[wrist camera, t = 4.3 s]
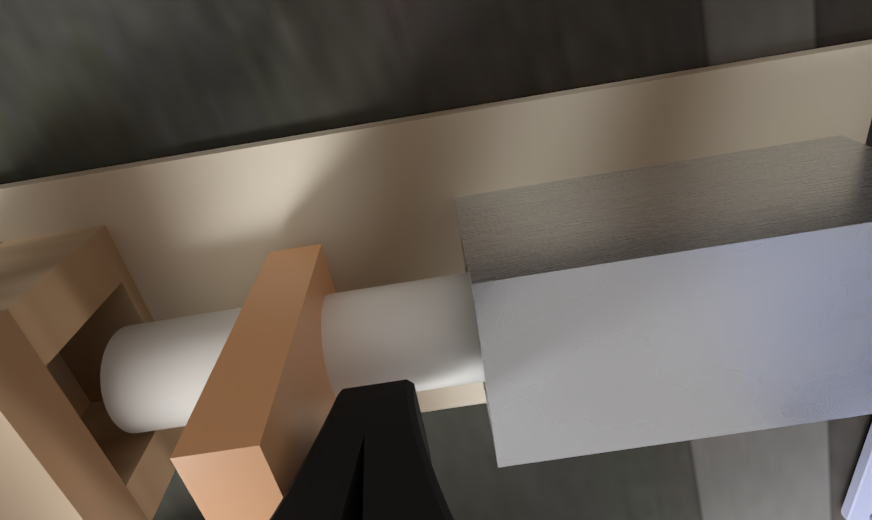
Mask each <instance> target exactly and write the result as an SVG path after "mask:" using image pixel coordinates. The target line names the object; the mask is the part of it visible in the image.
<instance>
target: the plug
mask: <svg viewBox="0 0 872 520" xmlns="http://www.w3.org/2000/svg"><path fill="white" fill-rule="evenodd" d="M405 379H407V380H409V381H411V382H412V383H414V385H415V389H416V392H417V391H424V390H431V389H438V388H444V387H451V386H458V385H464V384H471V383H478V382H485V377H484V370H483V363H482V356H481V349H480V342H479V335H478V328H477V321H476V314H475V307H474V300H473V295H472V290H471V285H470V280H469V275H468V272H466V273H460V274H454V275H447V276H441V277H434V278H428V279H422V280H415V281H409V282H402V283H396V284H390V285H383V286H377V287H370V288H364V289H358V290H351V291H345V292H338V293H336V292H335V288H334V285H333V281H332V278H331V275H330V271H329V268H328V264H327V261H326V258H325V254H324V251H323V247H322V244H317V245H311V246H305V247H298V248H292V249H286V250H280V251H273V252H269V253H268V255H267V257H266V260H265V262H264V264H263V266H262V268H261V270H260V272H259V274H258V276H257V278H256V280H255V282H254V284H253V287H252V289H251V291H250V293H249V295H248V297H247V299H246V301H245V303H244V305H243V307H242V308H236V309H229V310H223V311H217V312H210V313H204V314H197V315H191V316H184V317H178V318H172V319H165V320H159V321H152V322H146V323H140V324H133V325H128V326H124V327H122V328H121V329H119V330H118V331H117V332H116V333H115V334H114V335H113V336H112V337H111V339H110V340H109V342H108V344H107V346H106V348H105V351H104V354H103V358H102V363H101V370H100V385H101V393H102V398H103V402H104V405H105V407H106V410H107V412H108V414H109V416H110V418H111V419H112V420H113V422H114V423H115V424H116V425H117V426H118V427H119V428H120V429H122V430H123V431H125V432H128V433H142V432H149V431H155V430H162V429H169V428H176V427H182V426H185V428H184V430H183V432H182V434H181V436H180V438H179V440H178V443H177V445H176V447H175V449H174V451H173V453H172V455H171V457H170V460H171V461H172V463H173V465H174V467H175V468H176V470H177V472H178V473H179V475H180V477H181V479H182V480H183V482H184V484H185V485H186V487H187V489H188V491H189V492H190V494H191V496H192V497H193V499H194V501H195V502H196V504H197V506H198V508H199V509H200V511H201V513H202V514H203V516H204V518H205V520H270V518H271V517H272V515H273V513H274V512H275V510H276V509H277V507H278V505H279V504H280V502H281V500H282V499H283V497H284V495H285V493H286V492H287V490H288V488H289V486H290V485H291V483H292V481H293V479H294V478H295V476H296V474H297V472H298V470H299V469H300V467H301V465H302V463H303V462H304V460H305V458H306V456H307V454H308V453H309V451H310V449H311V447H312V445H313V443H314V441H315V439H316V437H317V436H318V434H319V432H320V430H321V428H322V426H323V424H324V422H325V420H326V418H327V416H328V414H329V412H330V410H331V408H332V406H333V404H334V401H335V399H336V397H337V395H338V394H339V393H340V391H341V390H342V389H345V388H352V387H359V386H365V385H372V384H379V383H385V382H392V381H399V380H405Z"/></svg>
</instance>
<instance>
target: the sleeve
mask: <svg viewBox="0 0 872 520" xmlns="http://www.w3.org/2000/svg"><path fill="white" fill-rule="evenodd" d="M455 204H456V211H457V218H458V224H459V231H460V238H461V245H462V252H463V258H464V265H465V272H468V275H469V280H470V285H471V290H472V295H473V300H474V307H475V314H476V321H477V328H478V335H479V342H480V349H481V356H482V363H483V370H484V377H485V382H483V387H484V393H485V398H486V404H487V409H488V415H489V420H490V426H491V432H492V437H493V443H494V448H495V454H496V459H497V465H498V467H505V466H512V465H519V464H526V463H533V462H540V461H547V460H554V459H561V458H568V457H575V456H582V455H589V454H596V453H603V452H610V451H617V450H624V449H631V448H638V447H645V446H652V445H659V444H666V443H673V442H680V441H687V440H694V439H701V438H708V437H715V436H722V435H729V434H736V433H743V432H750V431H757V430H764V429H771V428H778V427H785V426H792V425H799V424H806V423H813V422H820V421H827V420H834V419H841V418H848V417H854V416H861V415H868V414H872V147H870V146H868V145H865V144H863V143H860V142H858V141H855V140H853V139H850V138H848V137H845V136H842V135H839V136H833V137H827V138H821V139H814V140H808V141H802V142H796V143H789V144H783V145H777V146H771V147H765V148H758V149H752V150H746V151H740V152H734V153H727V154H721V155H715V156H709V157H703V158H696V159H690V160H684V161H678V162H671V163H665V164H659V165H653V166H647V167H640V168H634V169H628V170H622V171H616V172H609V173H603V174H597V175H591V176H584V177H578V178H572V179H566V180H560V181H553V182H547V183H541V184H535V185H529V186H522V187H516V188H510V189H504V190H498V191H491V192H485V193H479V194H473V195H466V196H460V197H455Z"/></svg>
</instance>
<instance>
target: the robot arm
mask: <svg viewBox="0 0 872 520" xmlns="http://www.w3.org/2000/svg"><path fill="white" fill-rule="evenodd" d="M841 514H842V515H843V517H844V518H845V519H846V520H872V423H871V426H870V429H869V432H868V435H867V438H866V440H865V443H864V446H863V449H862V452H861V455H860V458H859V461H858V463H857V466H856V469H855V472H854V475H853V478H852V481H851V483H850V486H849V489H848V492H847V495H846V498H845V501H844V504H843V506H842V509H841ZM270 520H454V519H453V517H452V515H451V513H450V510H449V508H448V506H447V504H446V501H445V499H444V496H443V494H442V491H441V489H440V486H439V484H438V481H437V478H436V476H435V473H434V470H433V467H432V465H431V456H430V451H429V446H428V442H427V438H426V433H425V429H424V424H423V420H422V416H421V411H420V407H419V402H418V398H417V394H416V389H415V385H414V383H412V382H411V381H409V380H407V379H405V380H399V381H392V382H385V383H379V384H372V385H365V386H359V387H352V388H345V389H342V390H341V391H340V393H339V394H338V395H337V397H336V399H335V401H334V404H333V406H332V408H331V410H330V412H329V414H328V416H327V418H326V420H325V422H324V424H323V426H322V428H321V430H320V432H319V434H318V436H317V437H316V439H315V441H314V443H313V445H312V447H311V449H310V451H309V453H308V454H307V456H306V458H305V460H304V462H303V463H302V465H301V467H300V469H299V470H298V472H297V474H296V476H295V478H294V479H293V481H292V483H291V485H290V486H289V488H288V490H287V492H286V493H285V495H284V497H283V499H282V500H281V502H280V504H279V505H278V507H277V509H276V510H275V512H274V513H273V515H272V517H271V518H270Z"/></svg>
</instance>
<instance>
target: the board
mask: <svg viewBox="0 0 872 520" xmlns="http://www.w3.org/2000/svg"><path fill="white" fill-rule="evenodd" d="M871 119H872V39H871V40H865V41H859V42H853V43H847V44H841V45H835V46H829V47H823V48H817V49H811V50H805V51H799V52H793V53H787V54H781V55H775V56H769V57H763V58H757V59H751V60H745V61H739V62H733V63H727V64H721V65H715V66H709V67H703V68H697V69H691V70H685V71H679V72H673V73H667V74H661V75H655V76H649V77H643V78H637V79H631V80H625V81H619V82H613V83H607V84H601V85H595V86H589V87H583V88H577V89H571V90H565V91H559V92H553V93H547V94H541V95H535V96H529V97H523V98H517V99H511V100H505V101H499V102H493V103H487V104H481V105H475V106H469V107H463V108H457V109H451V110H445V111H439V112H433V113H427V114H421V115H415V116H409V117H403V118H397V119H391V120H385V121H379V122H373V123H367V124H361V125H355V126H349V127H343V128H337V129H331V130H325V131H319V132H313V133H307V134H301V135H295V136H289V137H283V138H277V139H271V140H265V141H259V142H253V143H247V144H241V145H235V146H229V147H223V148H217V149H211V150H205V151H199V152H193V153H187V154H181V155H175V156H169V157H163V158H157V159H151V160H145V161H139V162H133V163H127V164H121V165H115V166H109V167H103V168H97V169H91V170H85V171H79V172H73V173H67V174H61V175H55V176H49V177H43V178H37V179H31V180H25V181H19V182H13V183H7V184H1V185H0V242H4V241H10V240H16V239H22V238H28V237H34V236H40V235H47V234H53V233H59V232H65V231H71V230H77V229H83V228H90V227H96V226H102V225H105V226H106V228H107V230H108V232H109V234H110V236H111V237H112V239H113V241H114V243H115V245H116V247H117V249H118V251H119V253H120V255H121V257H122V259H123V261H124V263H125V265H126V267H127V269H128V271H129V273H130V275H131V277H132V279H133V281H134V283H135V285H136V286H137V288H138V290H139V292H140V294H141V296H142V298H143V300H144V302H145V304H146V306H147V308H148V310H149V312H150V314H151V316H152V318H153V320H154V321H159V320H165V319H172V318H178V317H184V316H191V315H197V314H204V313H210V312H217V311H223V310H229V309H236V308H242V307H243V305H244V303H245V301H246V299H247V297H248V295H249V293H250V291H251V289H252V287H253V284H254V282H255V280H256V278H257V276H258V274H259V272H260V270H261V268H262V266H263V264H264V262H265V260H266V257H267V255H268V253H269V252H273V251H280V250H286V249H292V248H298V247H305V246H311V245H317V244H322V247H323V251H324V254H325V258H326V261H327V264H328V268H329V271H330V275H331V278H332V281H333V285H334V288H335V292H336V293H338V292H345V291H351V290H358V289H364V288H370V287H377V286H383V285H390V284H396V283H402V282H409V281H415V280H422V279H428V278H434V277H441V276H447V275H454V274H460V273H466V272H465V265H464V258H463V252H462V245H461V238H460V231H459V224H458V218H457V211H456V204H455V197H460V196H466V195H473V194H479V193H485V192H491V191H498V190H504V189H510V188H516V187H522V186H529V185H535V184H541V183H547V182H553V181H560V180H566V179H572V178H578V177H584V176H591V175H597V174H603V173H609V172H616V171H622V170H628V169H634V168H640V167H647V166H653V165H659V164H665V163H671V162H678V161H684V160H690V159H696V158H703V157H709V156H715V155H721V154H727V153H734V152H740V151H746V150H752V149H758V148H765V147H771V146H777V145H783V144H789V143H796V142H802V141H808V140H814V139H821V138H827V137H833V136H839V135H842V136H845V137H848V138H850V139H853V140H855V141H858V142H860V143H863V144H865V143H866V139H867V135H868V131H869V127H870V123H871ZM416 394H417V398H418V402H419V407H420V411H421V412H428V411H434V410H441V409H448V408H455V407H461V406H468V405H475V404H482V403H486V398H485V393H484V387H483V382H478V383H471V384H464V385H458V386H451V387H444V388H438V389H431V390H424V391H417V392H416Z"/></svg>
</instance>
